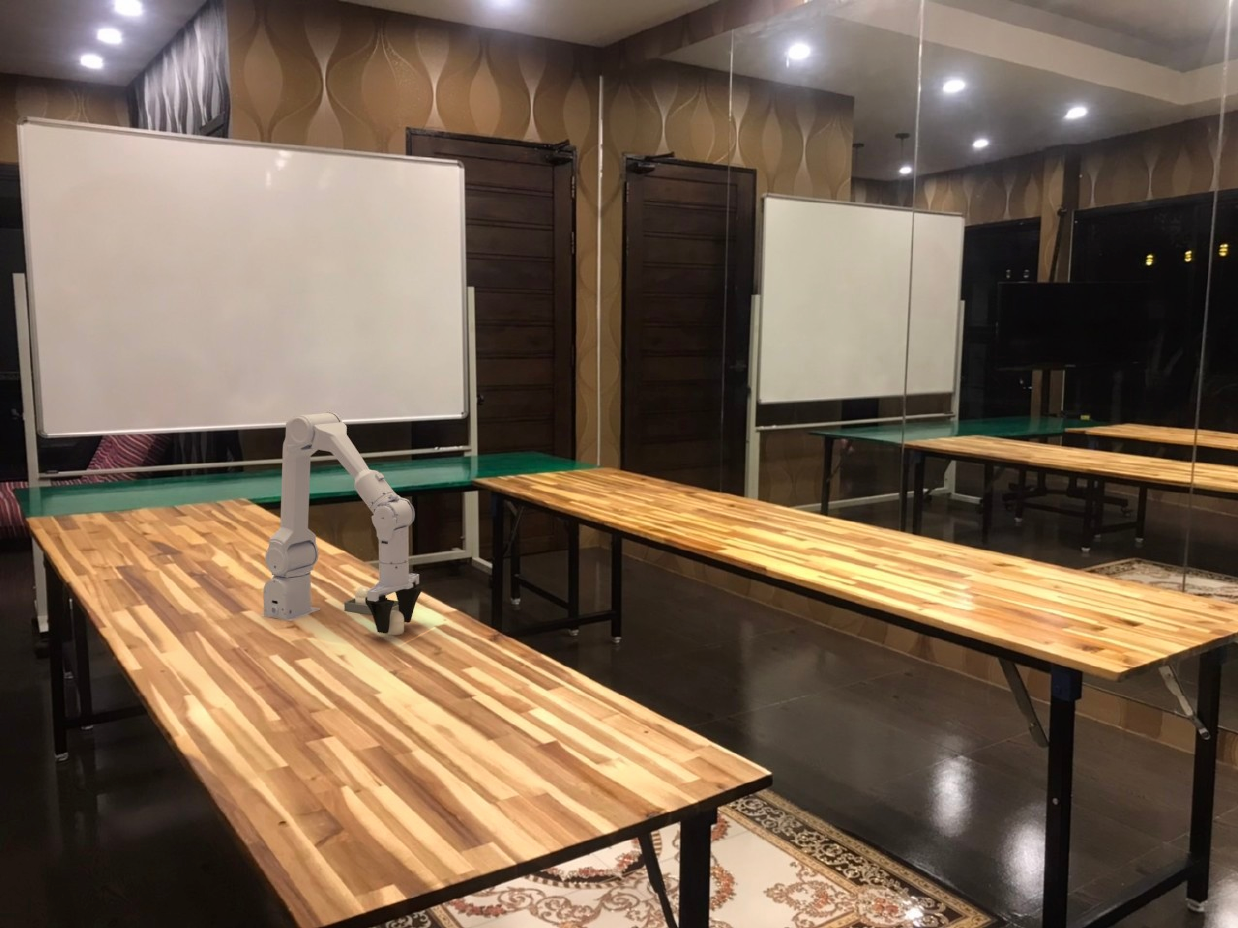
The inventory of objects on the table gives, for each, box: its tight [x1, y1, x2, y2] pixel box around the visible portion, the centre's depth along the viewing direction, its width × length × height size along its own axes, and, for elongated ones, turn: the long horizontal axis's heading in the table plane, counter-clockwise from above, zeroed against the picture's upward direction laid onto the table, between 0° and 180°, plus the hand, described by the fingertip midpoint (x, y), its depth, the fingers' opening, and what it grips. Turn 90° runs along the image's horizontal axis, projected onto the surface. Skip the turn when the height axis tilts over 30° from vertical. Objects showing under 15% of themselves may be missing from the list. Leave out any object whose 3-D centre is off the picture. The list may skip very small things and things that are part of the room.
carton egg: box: [354, 585, 372, 605], centre depth 201 cm, size 4×4×5 cm
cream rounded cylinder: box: [385, 610, 405, 636], centre depth 186 cm, size 4×4×5 cm
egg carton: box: [343, 597, 399, 616], centre depth 200 cm, size 6×12×2 cm, turn 68°
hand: (394, 626), depth 186 cm, fingers open, 7 cm apart
